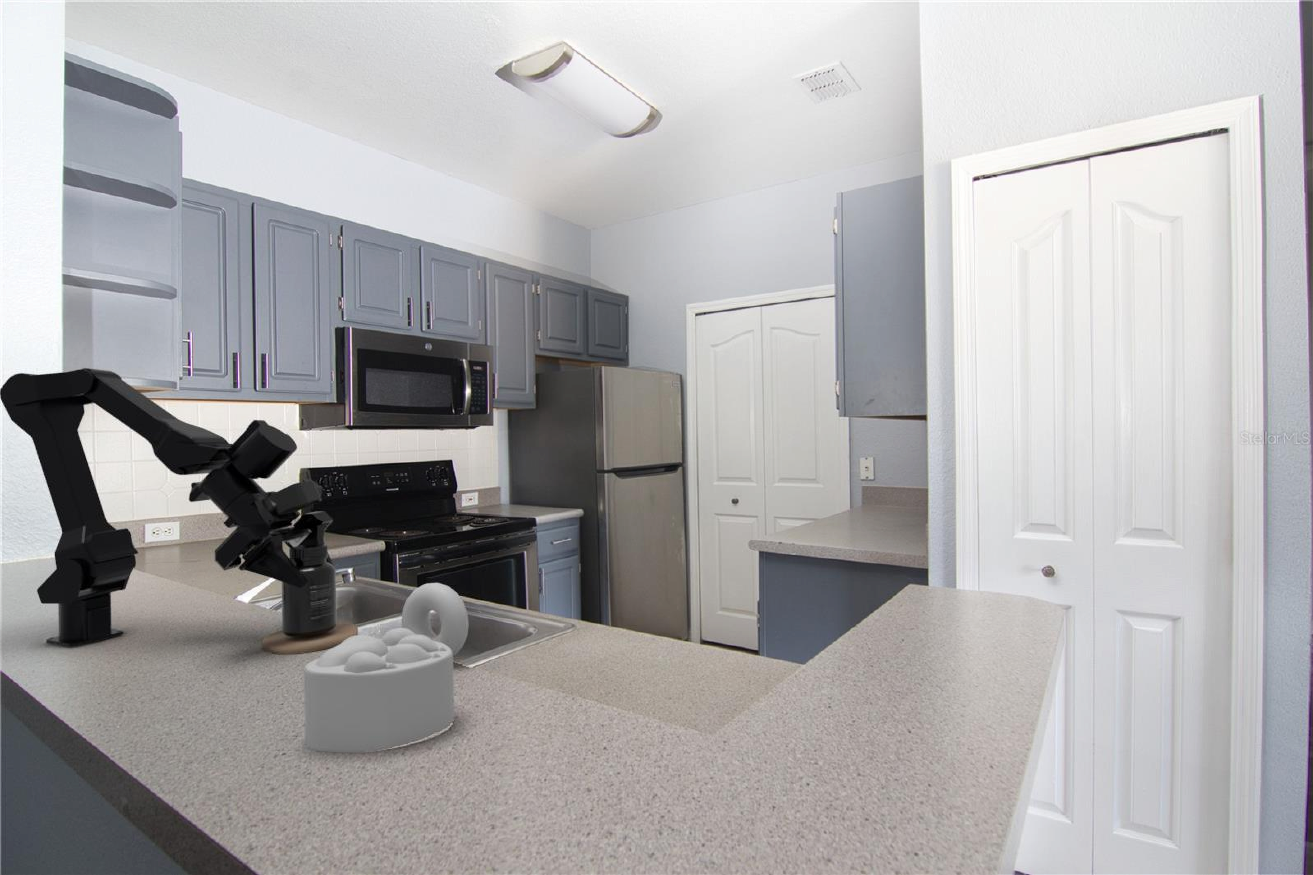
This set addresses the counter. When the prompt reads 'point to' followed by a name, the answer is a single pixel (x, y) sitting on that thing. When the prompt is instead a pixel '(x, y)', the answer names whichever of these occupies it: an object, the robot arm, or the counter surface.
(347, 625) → the walnut trivet
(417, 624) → the donut
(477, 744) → the counter surface
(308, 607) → the supplement bottle
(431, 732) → the lumpy-topped squat cylinder
